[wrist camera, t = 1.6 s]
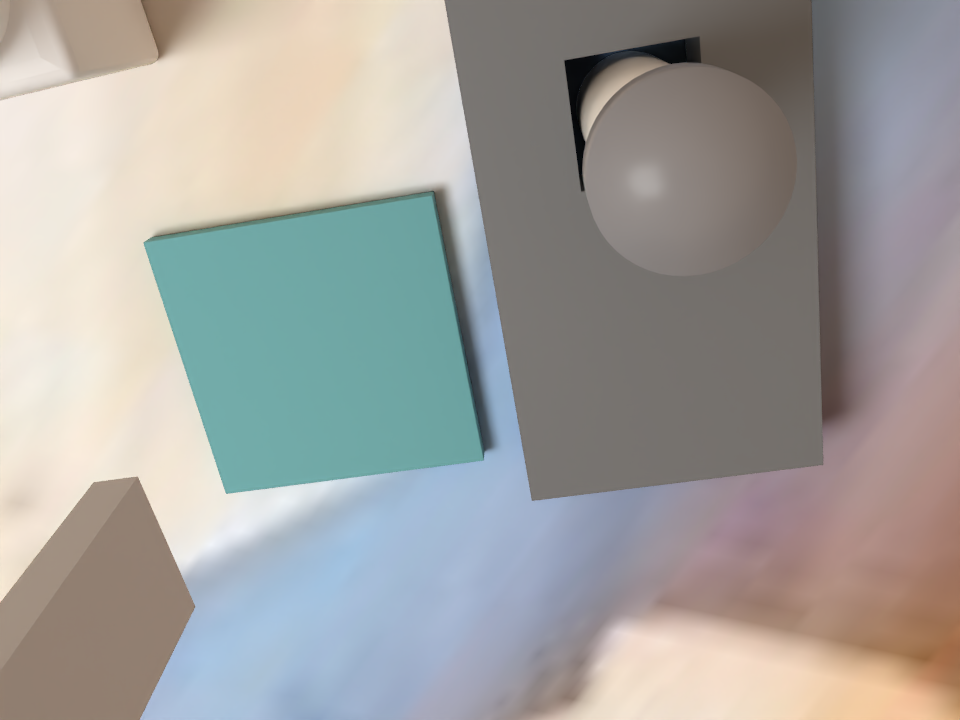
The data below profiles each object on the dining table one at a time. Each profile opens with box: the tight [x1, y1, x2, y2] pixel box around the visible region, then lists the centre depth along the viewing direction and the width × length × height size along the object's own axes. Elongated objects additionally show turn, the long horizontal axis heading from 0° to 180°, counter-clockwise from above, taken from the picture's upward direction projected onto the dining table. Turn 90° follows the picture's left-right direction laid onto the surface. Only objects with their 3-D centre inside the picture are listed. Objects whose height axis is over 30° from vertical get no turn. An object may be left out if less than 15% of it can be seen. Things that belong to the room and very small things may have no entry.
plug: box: [576, 51, 797, 276], centre depth 27 cm, size 5×5×14 cm
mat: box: [144, 191, 484, 494], centre depth 38 cm, size 12×12×1 cm
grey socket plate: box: [445, 0, 823, 501], centre depth 34 cm, size 20×12×3 cm, turn 10°
